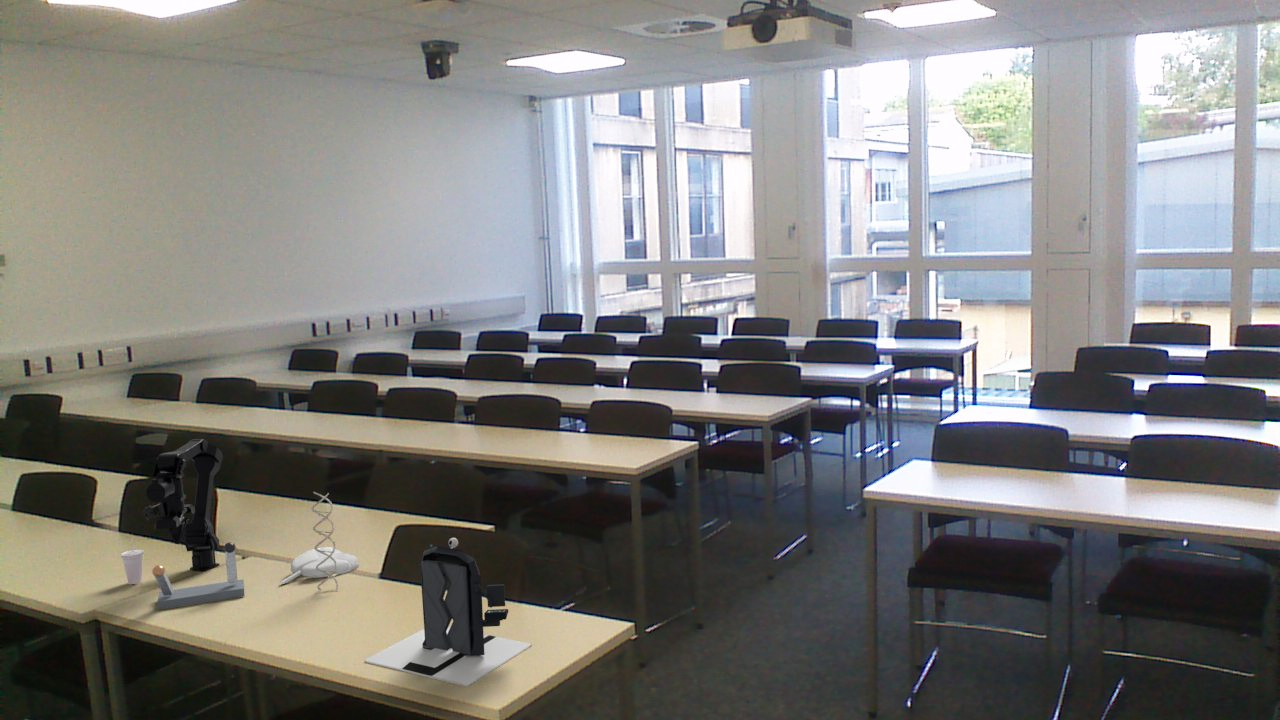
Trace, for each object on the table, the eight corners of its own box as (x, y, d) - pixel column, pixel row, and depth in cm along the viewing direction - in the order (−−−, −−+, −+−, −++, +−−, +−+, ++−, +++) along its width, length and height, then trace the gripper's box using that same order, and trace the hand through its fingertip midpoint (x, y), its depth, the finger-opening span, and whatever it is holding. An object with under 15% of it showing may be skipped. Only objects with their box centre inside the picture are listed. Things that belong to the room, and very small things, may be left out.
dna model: (312, 593, 287) (304, 494, 283) (326, 585, 293) (319, 489, 289) (330, 595, 284) (322, 495, 281) (344, 588, 290) (337, 490, 287)
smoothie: (150, 579, 305) (146, 536, 303) (138, 586, 298) (134, 542, 297) (131, 579, 305) (127, 536, 304) (119, 586, 299) (114, 542, 297)
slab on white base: (364, 662, 236) (356, 549, 233) (433, 626, 258) (427, 522, 255) (467, 687, 221) (461, 566, 217) (532, 646, 243) (526, 536, 240)
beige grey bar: (225, 582, 289) (222, 542, 287) (236, 579, 291) (233, 540, 289) (228, 584, 286) (225, 544, 285) (239, 582, 288) (236, 542, 287)
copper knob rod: (164, 588, 282) (152, 563, 274) (175, 588, 283) (164, 562, 275) (161, 598, 280) (149, 572, 272) (173, 597, 280) (161, 571, 272)
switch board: (160, 600, 285) (159, 591, 285) (244, 587, 294) (243, 579, 294) (158, 610, 277) (157, 601, 277) (244, 596, 286) (243, 588, 285)
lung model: (365, 566, 310) (301, 597, 290) (330, 559, 320) (265, 589, 300) (362, 546, 309) (297, 577, 289) (327, 540, 319) (262, 569, 298)
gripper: (156, 488, 304) (160, 537, 305) (133, 503, 285) (138, 554, 287) (193, 486, 305) (197, 534, 307) (173, 500, 287) (178, 551, 288)
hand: (177, 543), depth 297 cm, fingers closed
